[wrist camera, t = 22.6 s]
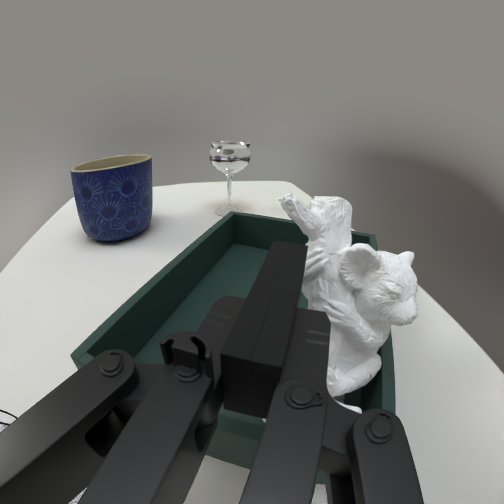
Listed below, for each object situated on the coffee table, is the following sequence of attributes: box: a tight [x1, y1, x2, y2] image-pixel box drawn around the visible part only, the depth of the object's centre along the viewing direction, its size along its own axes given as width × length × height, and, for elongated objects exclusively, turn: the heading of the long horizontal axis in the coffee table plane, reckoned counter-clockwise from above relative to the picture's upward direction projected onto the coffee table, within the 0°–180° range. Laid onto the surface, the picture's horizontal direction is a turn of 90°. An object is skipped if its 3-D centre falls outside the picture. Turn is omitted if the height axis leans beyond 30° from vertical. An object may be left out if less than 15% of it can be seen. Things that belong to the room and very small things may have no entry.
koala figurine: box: [262, 193, 417, 422], centre depth 14 cm, size 8×7×12 cm
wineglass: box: [210, 141, 251, 216], centre depth 46 cm, size 7×7×12 cm
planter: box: [71, 154, 152, 241], centre depth 37 cm, size 12×12×11 cm
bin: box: [70, 211, 395, 484], centre depth 22 cm, size 18×26×5 cm
